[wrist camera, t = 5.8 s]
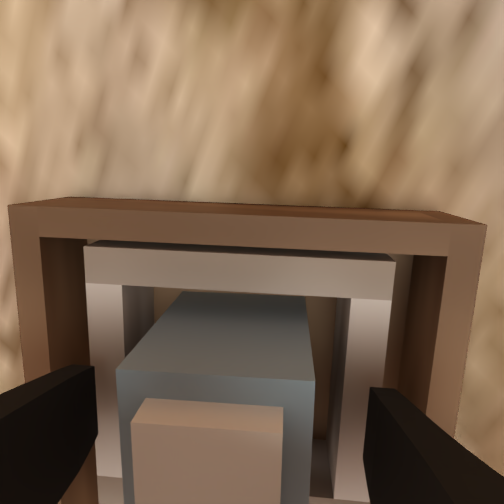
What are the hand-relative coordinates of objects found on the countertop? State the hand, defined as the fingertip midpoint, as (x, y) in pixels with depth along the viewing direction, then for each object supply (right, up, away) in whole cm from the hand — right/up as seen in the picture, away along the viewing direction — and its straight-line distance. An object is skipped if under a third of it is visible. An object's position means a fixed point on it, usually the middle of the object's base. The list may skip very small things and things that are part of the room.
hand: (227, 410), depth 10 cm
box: (0, -2, +4) cm, 5 cm away
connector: (0, +1, +3) cm, 3 cm away
